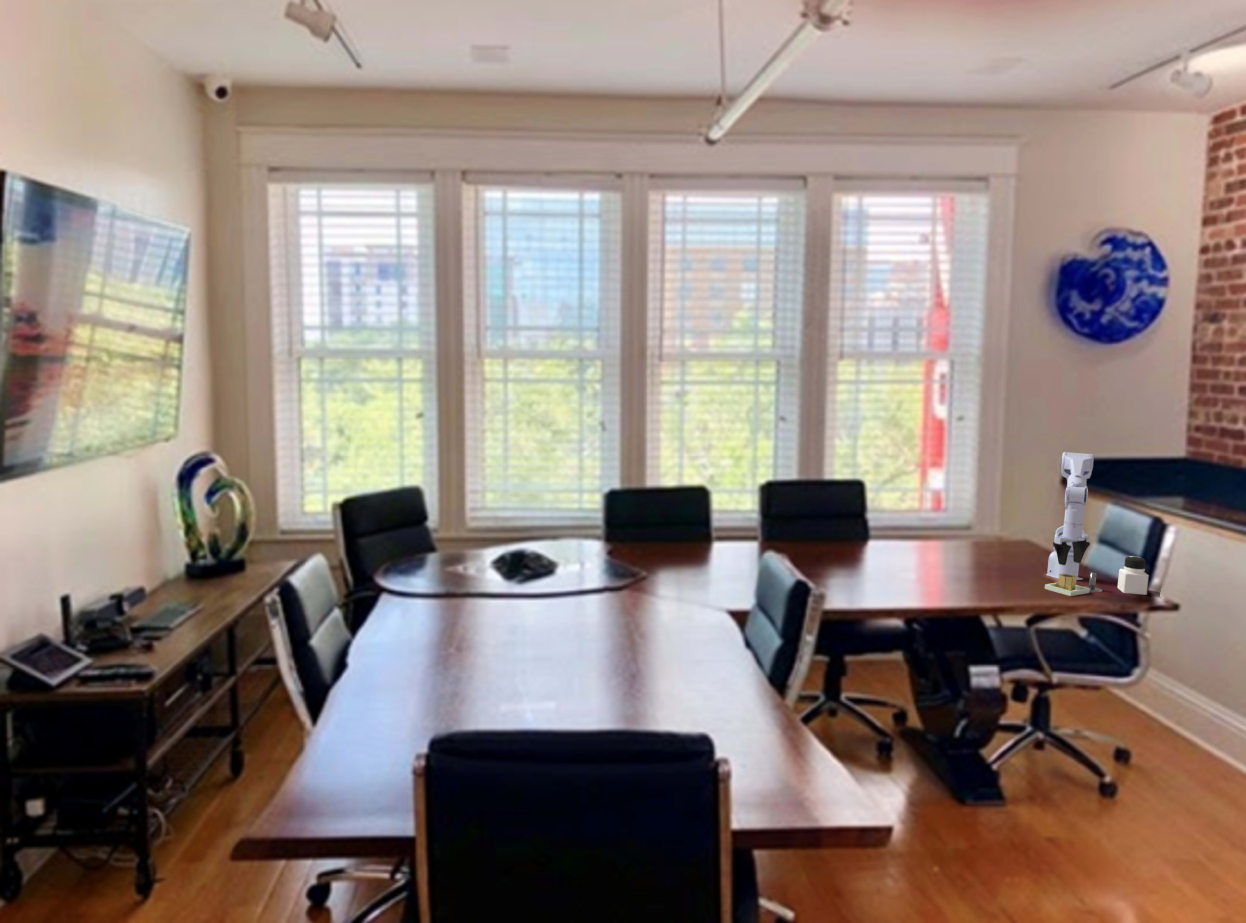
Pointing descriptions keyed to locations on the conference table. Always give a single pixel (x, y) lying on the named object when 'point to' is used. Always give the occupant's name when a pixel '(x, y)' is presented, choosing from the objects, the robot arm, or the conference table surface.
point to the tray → (1077, 590)
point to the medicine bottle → (1133, 576)
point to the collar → (1066, 582)
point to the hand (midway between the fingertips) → (1069, 563)
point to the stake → (1093, 583)
